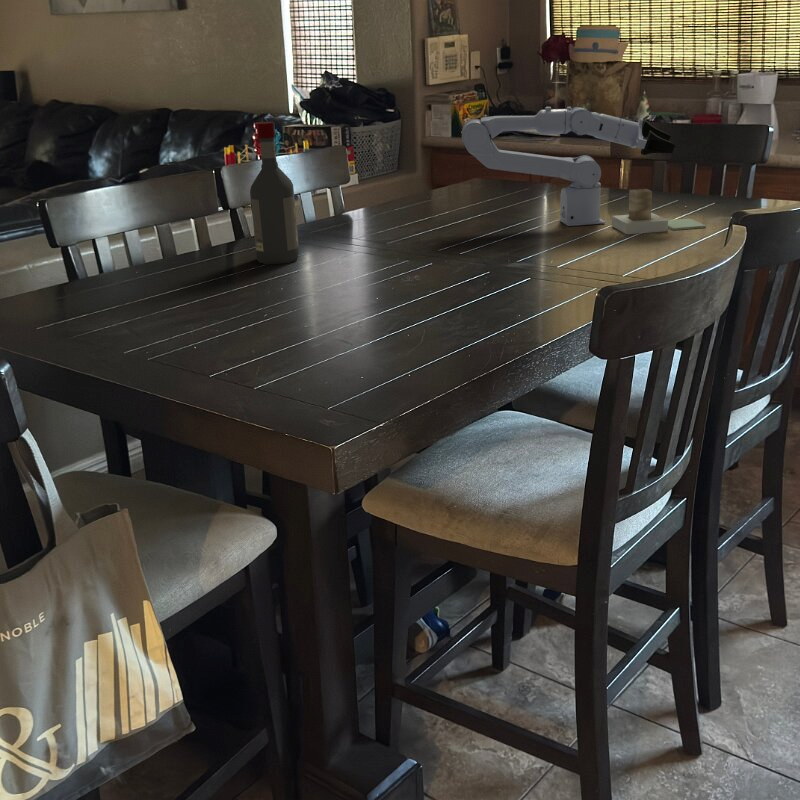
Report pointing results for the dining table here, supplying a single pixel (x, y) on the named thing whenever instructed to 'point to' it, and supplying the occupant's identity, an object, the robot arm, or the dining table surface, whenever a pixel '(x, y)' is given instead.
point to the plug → (640, 204)
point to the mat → (684, 224)
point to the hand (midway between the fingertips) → (671, 144)
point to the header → (639, 224)
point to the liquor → (273, 206)
